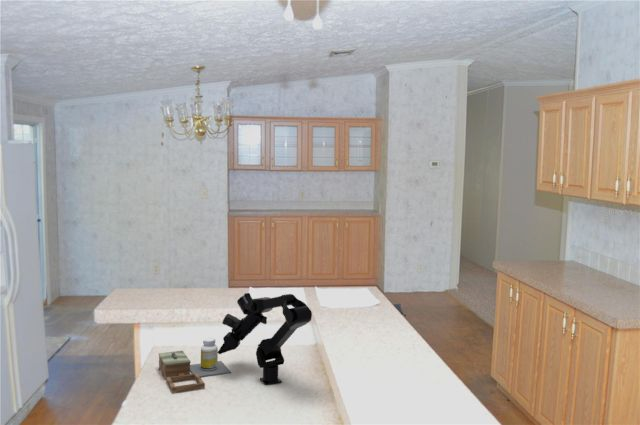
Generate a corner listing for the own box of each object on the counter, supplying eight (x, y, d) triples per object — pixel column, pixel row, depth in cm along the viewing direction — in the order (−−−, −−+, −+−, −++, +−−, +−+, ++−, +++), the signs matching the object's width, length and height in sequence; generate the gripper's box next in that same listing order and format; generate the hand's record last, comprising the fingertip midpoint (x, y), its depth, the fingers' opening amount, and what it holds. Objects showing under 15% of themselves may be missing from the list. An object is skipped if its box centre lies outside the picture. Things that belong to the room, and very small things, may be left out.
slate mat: (231, 373, 211) (231, 371, 211) (195, 378, 205) (195, 376, 205) (221, 362, 223) (221, 360, 223) (186, 366, 217) (186, 365, 217)
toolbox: (204, 388, 194) (204, 369, 194) (172, 393, 189) (172, 373, 189) (187, 364, 219) (187, 347, 219) (158, 368, 214) (158, 350, 214)
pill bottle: (208, 364, 218) (208, 336, 218) (220, 367, 215) (221, 338, 214) (197, 369, 213) (197, 340, 212) (209, 372, 209) (209, 342, 209)
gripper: (240, 302, 221) (214, 328, 222) (229, 313, 202) (200, 341, 204) (259, 322, 220) (232, 348, 222) (249, 335, 202) (220, 363, 203)
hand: (221, 349), depth 213 cm, fingers open, 9 cm apart
